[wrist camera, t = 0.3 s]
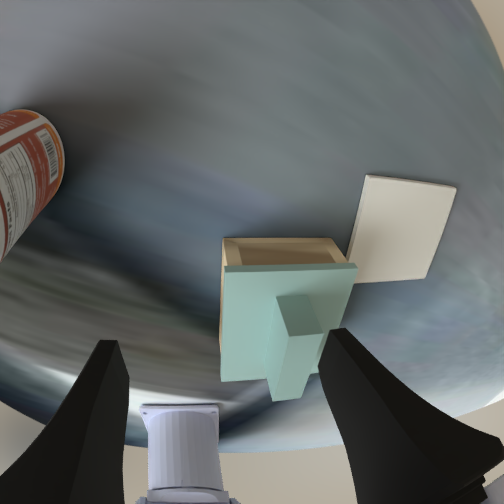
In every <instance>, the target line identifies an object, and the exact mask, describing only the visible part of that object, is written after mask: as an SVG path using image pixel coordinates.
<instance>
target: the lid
mask: <svg viewBox="0 0 504 504" xmlns="http://www.w3.org/2000/svg"><path fill="white" fill-rule="evenodd" d="M357 272H358V267H357V266H356V264H355V263H323V264H285V265H240V266H224V282H223V308H222V339H221V382H225V381H241V380H254V379H266V378H267V380H268V385H269V389H270V393H271V397H272V401H281V400H289V399H296V398H301V396H302V393H303V390H304V388H305V385H306V383H307V380H308V377H309V374H310V373H317V372H319V371H318V363H319V360H320V357H321V354H322V351H323V348H324V345H325V343H326V340H327V337H328V333H329V330H331V329H338V328H339V325H340V322H341V320H342V317H343V314H344V311H345V308H346V305H347V302H348V299H349V296H350V293H351V290H352V287H353V284H354V281H355V278H356V275H357Z"/></svg>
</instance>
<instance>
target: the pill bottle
mask: <svg viewBox="0 0 504 504" xmlns="http://www.w3.org/2000/svg"><path fill="white" fill-rule="evenodd" d="M64 166H65V156H64V149H63V145H62V141H61V139H60V136H59V134H58V132H57V130H56V129H55V127H54V126H53V125H52V124H51V123H50V122H49V120H47V119H46V118H45V117H44V116H42V115H41V114H39V113H37V112H34V111H30V110H24V109H18V110H13V111H9V112H6V113H3V114H1V115H0V263H1V261H2V260H3V258H4V257H5V256H6V254H7V253H8V252H9V250H10V249H11V248H12V246H13V245H14V244H15V242H16V241H17V240H18V238H19V237H20V236H21V235H22V233H23V232H24V231H25V230H26V228H27V227H28V226H29V225H30V223H31V222H32V221H33V220H34V219H35V217H36V216H37V215H38V214H39V213H40V212H41V210H42V209H43V208H44V207H45V206H46V205H47V204H48V202H49V201H50V200H51V199H52V197H53V196H54V195H55V193H56V192H57V190H58V188H59V186H60V184H61V181H62V177H63V173H64Z"/></svg>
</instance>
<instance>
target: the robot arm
mask: <svg viewBox="0 0 504 504" xmlns="http://www.w3.org/2000/svg"><path fill="white" fill-rule="evenodd" d="M318 371H319V375H320V379H321V383H322V387H323V390H324V393H325V396H326V398H327V401H328V404H329V406H330V409H331V411H332V414H333V416H334V419H335V421H336V424H337V426H338V429H339V431H340V434H341V436H342V439H343V442H344V445H345V448H346V451H347V455H348V459H349V463H350V467H351V472H352V476H353V481H354V486H355V491H356V497H357V503H358V504H504V474H503V475H502V476H500V477H499V478H497V479H496V480H494V481H493V482H492V483H490V484H489V485H487V486H486V487H484V488H483V486H482V484H483V483H484V482H485V481H486V480H485V478H484V476H483V475H484V474H485V473H487V472H488V471H490V470H491V469H492V468H494V467H495V466H496V465H498V464H499V463H500V462H502V461H503V460H504V446H503V444H502V443H501V441H500V439H499V438H498V437H495V436H493V435H489V434H487V433H484V432H482V431H479V430H477V429H474V428H472V427H470V426H468V425H466V424H464V423H462V422H460V421H458V420H456V419H454V418H452V417H450V416H449V415H447V414H445V413H444V412H442V411H440V410H439V409H437V408H436V407H434V406H433V405H431V404H430V403H428V402H427V401H425V400H424V399H423V398H421V397H420V396H418V395H417V394H416V393H414V392H413V391H412V390H411V389H409V388H408V387H407V386H406V385H405V384H403V383H402V382H401V381H400V380H399V379H398V378H396V377H395V376H394V375H393V374H392V373H391V372H390V371H389V370H388V369H387V368H385V367H384V366H383V365H382V364H381V363H380V362H379V361H378V360H377V359H376V358H375V357H374V356H373V355H372V354H371V353H370V352H369V351H368V350H367V349H366V348H365V347H364V346H363V345H362V344H361V343H360V342H359V341H358V340H357V339H356V338H355V337H354V336H353V335H352V334H351V333H350V332H349V331H348V330H347V329H346V328H340V329H331V330H329V333H328V337H327V340H326V343H325V345H324V348H323V351H322V354H321V357H320V360H319V363H318ZM128 406H129V375H128V372H127V369H126V366H125V363H124V360H123V357H122V354H121V351H120V348H119V344H118V341H117V340H100V341H99V342H98V343H97V345H96V347H95V348H94V350H93V352H92V354H91V356H90V357H89V359H88V361H87V363H86V364H85V366H84V368H83V370H82V371H81V373H80V375H79V376H78V378H77V380H76V381H75V383H74V385H73V386H72V388H71V390H70V391H69V393H68V394H67V396H66V397H65V399H64V400H63V402H62V403H61V405H60V406H59V408H58V409H57V411H56V412H55V414H54V415H53V417H52V418H51V420H50V421H49V422H48V424H47V425H46V426H45V428H44V429H43V430H42V432H41V433H40V434H39V435H38V437H37V438H36V439H35V440H34V441H33V442H32V444H31V445H30V446H29V447H28V448H27V450H26V451H25V452H24V453H23V454H22V455H21V456H20V457H19V458H18V459H17V460H16V461H15V462H14V463H13V464H12V465H11V466H10V467H9V468H8V469H7V470H6V471H5V472H4V473H3V474H2V475H1V476H0V504H125V502H124V490H123V472H122V470H123V469H122V468H123V451H124V441H125V432H126V423H127V415H128ZM139 411H140V413H141V416H142V418H143V421H144V423H145V426H146V428H147V430H148V476H149V490H147V498H146V497H140V498H139V499H138V500H137V501H136V503H135V504H241V503H239V502H238V501H237V500H236V499H235V498H229V494H228V491H224V489H223V482H222V475H221V467H220V460H219V452H218V444H217V443H218V442H219V407H218V406H217V405H193V406H140V407H139Z"/></svg>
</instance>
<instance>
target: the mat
mask: <svg viewBox="0 0 504 504" xmlns="http://www.w3.org/2000/svg"><path fill="white" fill-rule="evenodd" d="M456 190H457V189H456V188H455V187H453V186H448V185H442V184H435V183H429V182H422V181H415V180H408V179H400V178H392V177H384V176H375V175H366V177H365V181H364V186H363V190H362V195H361V199H360V203H359V208H358V212H357V216H356V220H355V224H354V228H353V232H352V236H351V240H350V243H349V247H348V251H347V255H346V260H347V261H348V263H355V264H356V266H357V267H358V272H357V275H356V278H355V281H354V283H368V282H383V281H397V280H410V279H423V278H425V276H426V274H427V271H428V269H429V267H430V264H431V262H432V259H433V257H434V254H435V252H436V249H437V246H438V244H439V241H440V238H441V236H442V233H443V230H444V227H445V224H446V221H447V218H448V215H449V212H450V209H451V206H452V203H453V200H454V197H455V194H456Z"/></svg>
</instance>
